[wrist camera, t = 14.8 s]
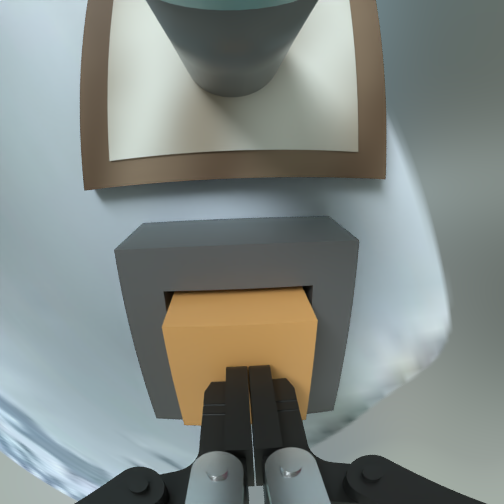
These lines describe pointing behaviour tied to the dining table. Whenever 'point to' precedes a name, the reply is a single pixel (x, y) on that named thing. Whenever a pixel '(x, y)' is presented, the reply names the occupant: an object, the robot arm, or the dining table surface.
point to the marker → (232, 39)
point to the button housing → (238, 285)
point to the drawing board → (231, 103)
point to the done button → (238, 340)
